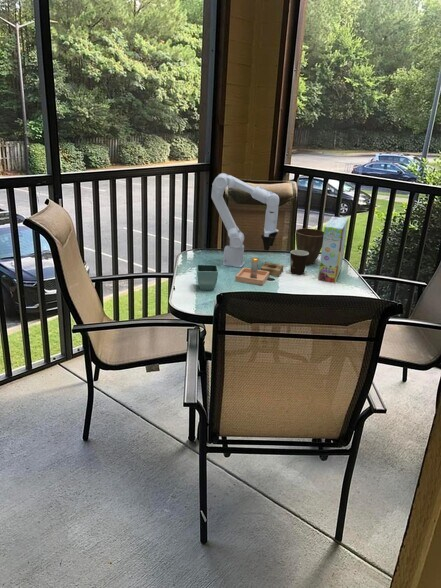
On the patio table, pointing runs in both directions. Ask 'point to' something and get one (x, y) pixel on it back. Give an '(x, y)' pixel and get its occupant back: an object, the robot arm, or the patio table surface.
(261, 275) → the dish
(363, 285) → the patio table surface
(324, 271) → the snack box
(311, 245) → the plant pot
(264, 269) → the block
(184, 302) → the patio table surface
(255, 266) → the pin
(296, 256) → the coffee mug
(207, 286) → the flower pot
